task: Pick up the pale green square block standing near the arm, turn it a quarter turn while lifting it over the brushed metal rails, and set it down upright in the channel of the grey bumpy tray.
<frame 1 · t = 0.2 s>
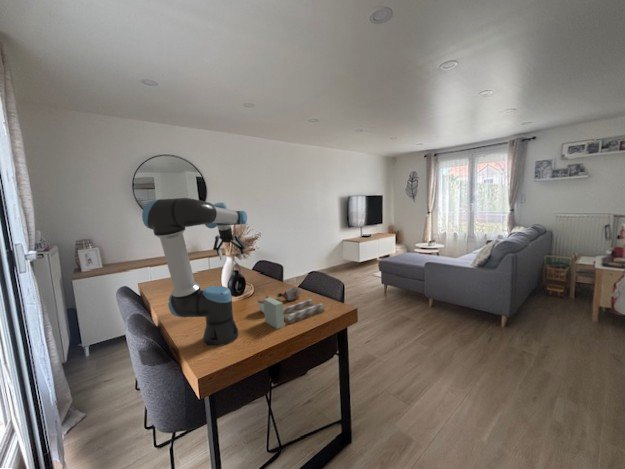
hand: (231, 258, 165), 28 cm above the table, fingers open, 13 cm apart
grey bumpy tray: (301, 314, 141), on the table
lidded jar: (268, 311, 147), on the table
decorative duck model: (290, 299, 167), on the table
pale green square block: (274, 324, 130), on the table
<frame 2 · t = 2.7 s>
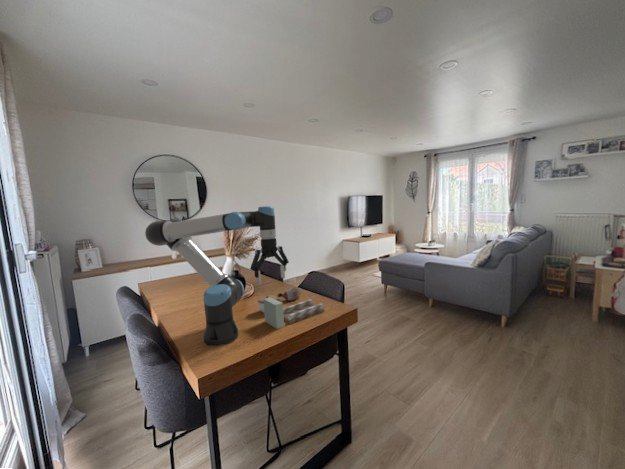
hand: (271, 280, 128), 22 cm above the table, fingers open, 13 cm apart
nothing on the table moved.
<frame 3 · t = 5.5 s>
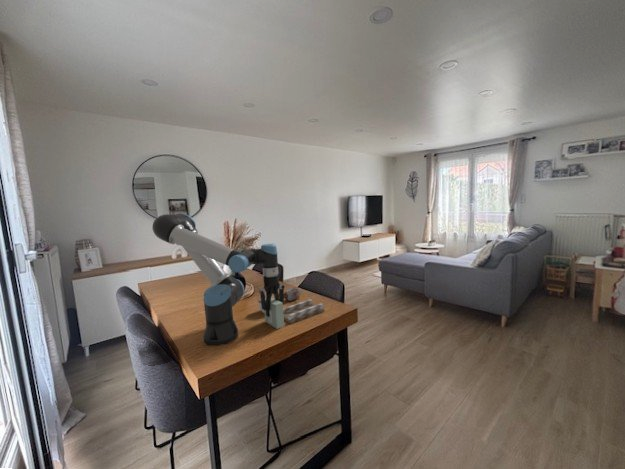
hand: (274, 320, 130), 2 cm above the table, fingers closed on pale green square block, 4 cm apart
pale green square block: (274, 323, 130), on the table, touching gripper
everything else where it was.
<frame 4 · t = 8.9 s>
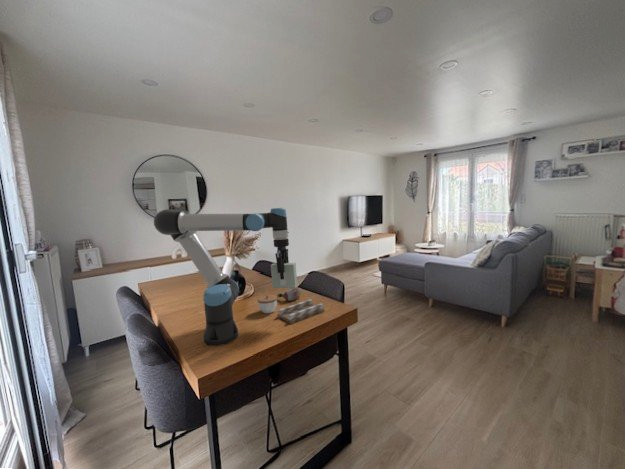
hand: (284, 283, 133), 19 cm above the table, fingers closed on pale green square block, 4 cm apart
pale green square block: (285, 286, 133), point 17 cm above the table, touching gripper
everything else where it was.
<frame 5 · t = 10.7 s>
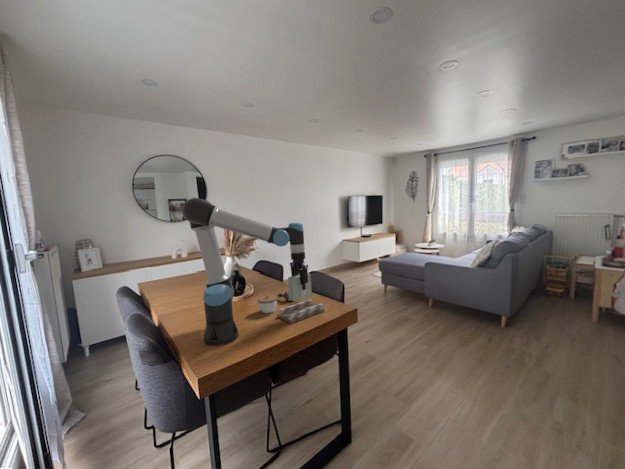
hand: (300, 294, 140), 11 cm above the table, fingers closed on pale green square block, 4 cm apart
pale green square block: (300, 297, 140), point 9 cm above the table, touching gripper
everything else where it was.
when the fingers open (4 cm above the table, at t = 12.3 s): pale green square block stays where it is, resting on grey bumpy tray.
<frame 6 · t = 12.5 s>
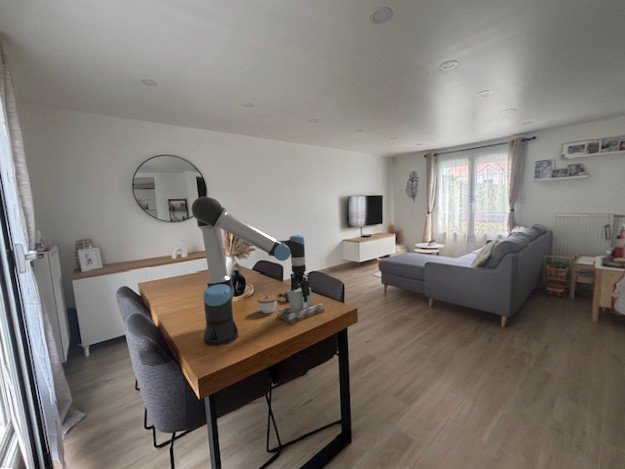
hand: (301, 306, 140), 4 cm above the table, fingers open, 7 cm apart
pale green square block: (301, 311, 141), point 2 cm above the table, touching grey bumpy tray
everything else where it was.
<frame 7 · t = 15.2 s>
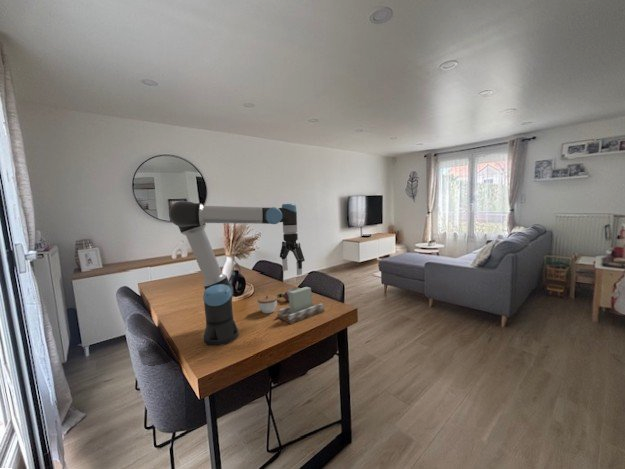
hand: (292, 272, 139), 23 cm above the table, fingers open, 13 cm apart
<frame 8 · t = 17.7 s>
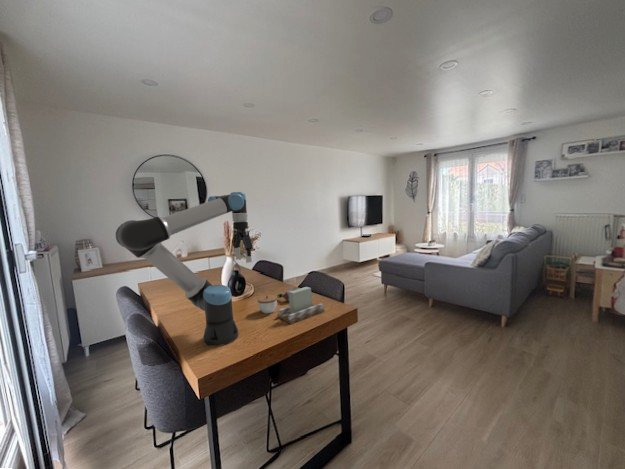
hand: (243, 260, 140), 31 cm above the table, fingers open, 13 cm apart
at the end: pale green square block 0.0 cm off-centre on the grey bumpy tray, point 1.5 cm above the grey bumpy tray's base; pale green square block tilted 0°; the gripper is holding nothing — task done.
